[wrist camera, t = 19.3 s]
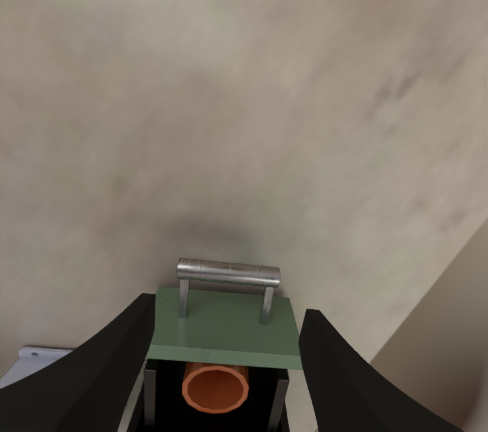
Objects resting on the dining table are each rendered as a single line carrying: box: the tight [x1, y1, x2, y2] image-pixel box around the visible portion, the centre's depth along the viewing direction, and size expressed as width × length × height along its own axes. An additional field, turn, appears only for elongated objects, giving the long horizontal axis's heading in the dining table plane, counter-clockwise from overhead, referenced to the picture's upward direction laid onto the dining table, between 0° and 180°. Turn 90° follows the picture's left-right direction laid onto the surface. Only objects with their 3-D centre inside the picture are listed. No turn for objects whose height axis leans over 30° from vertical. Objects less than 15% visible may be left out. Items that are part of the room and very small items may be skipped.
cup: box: [182, 361, 249, 414], centre depth 23 cm, size 5×5×5 cm
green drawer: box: [144, 258, 302, 432], centre depth 23 cm, size 16×11×6 cm
